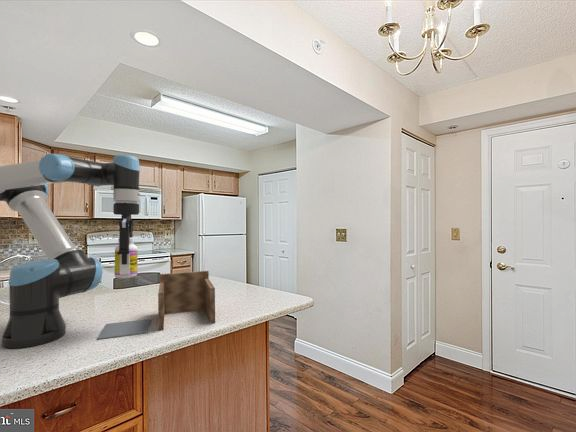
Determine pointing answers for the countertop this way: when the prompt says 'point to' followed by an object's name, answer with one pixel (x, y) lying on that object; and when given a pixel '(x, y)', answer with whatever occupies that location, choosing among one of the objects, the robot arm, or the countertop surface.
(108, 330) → the slate mat
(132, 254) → the supplement bottle
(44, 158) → the robot arm
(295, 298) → the countertop surface
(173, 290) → the cubby
